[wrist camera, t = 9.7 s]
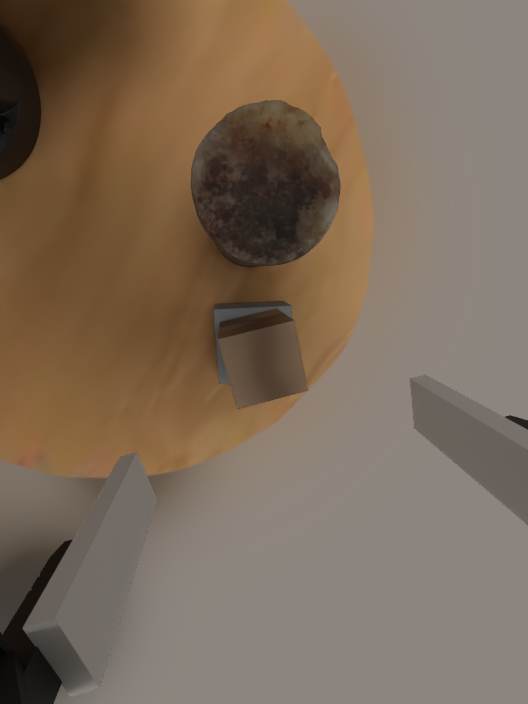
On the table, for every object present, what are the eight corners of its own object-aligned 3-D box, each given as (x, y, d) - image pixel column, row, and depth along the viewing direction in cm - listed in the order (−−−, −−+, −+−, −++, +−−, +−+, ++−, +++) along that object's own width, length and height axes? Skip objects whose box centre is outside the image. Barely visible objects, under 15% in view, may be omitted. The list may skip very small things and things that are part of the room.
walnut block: (234, 375, 32) (237, 409, 24) (219, 321, 30) (217, 339, 22) (288, 362, 32) (307, 390, 24) (276, 308, 30) (294, 320, 23)
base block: (215, 303, 34) (213, 309, 30) (283, 300, 35) (291, 305, 30) (220, 368, 36) (219, 383, 32) (283, 364, 37) (292, 378, 33)
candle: (221, 273, 33) (211, 279, 14) (204, 203, 31) (166, 98, 12) (286, 259, 34) (363, 246, 15) (274, 189, 32) (345, 66, 12)
